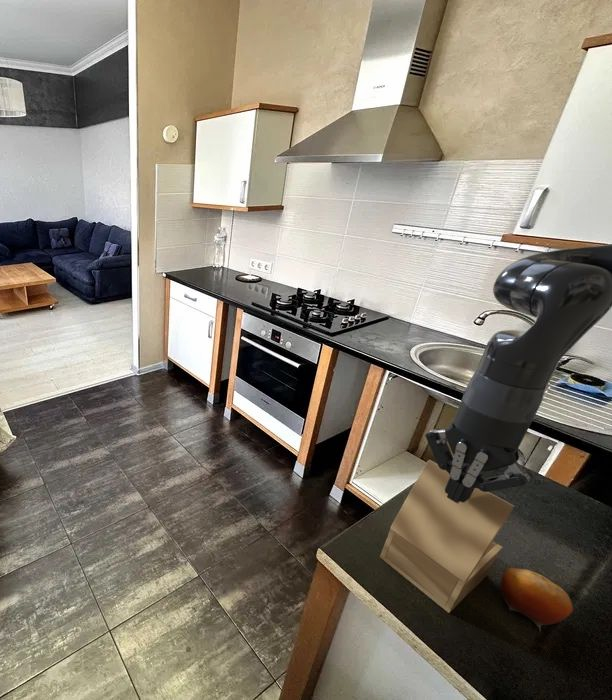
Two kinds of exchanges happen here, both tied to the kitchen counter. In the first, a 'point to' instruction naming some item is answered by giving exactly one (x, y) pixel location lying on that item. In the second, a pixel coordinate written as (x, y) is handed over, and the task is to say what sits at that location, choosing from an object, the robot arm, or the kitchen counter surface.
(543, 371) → the robot arm
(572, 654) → the kitchen counter surface
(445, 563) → the lid
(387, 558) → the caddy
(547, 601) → the fruit
